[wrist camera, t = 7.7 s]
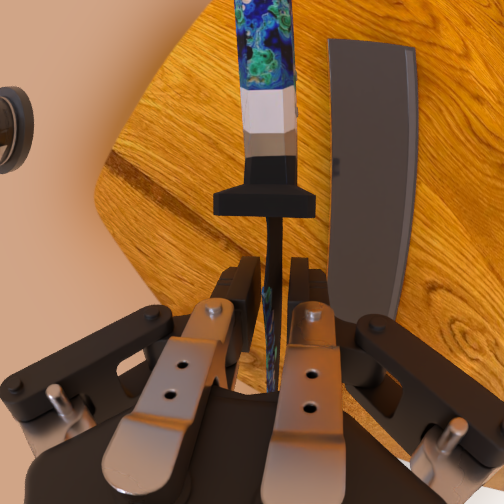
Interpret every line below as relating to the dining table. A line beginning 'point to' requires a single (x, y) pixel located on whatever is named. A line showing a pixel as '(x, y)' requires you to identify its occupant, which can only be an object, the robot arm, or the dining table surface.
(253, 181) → the knife
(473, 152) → the dining table surface
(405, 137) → the slate board
